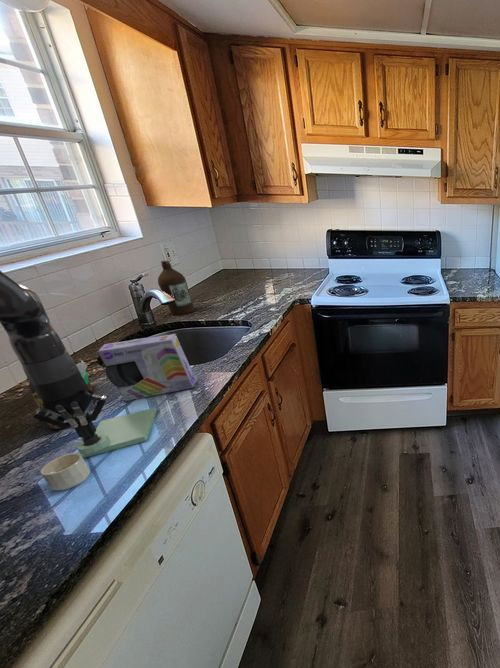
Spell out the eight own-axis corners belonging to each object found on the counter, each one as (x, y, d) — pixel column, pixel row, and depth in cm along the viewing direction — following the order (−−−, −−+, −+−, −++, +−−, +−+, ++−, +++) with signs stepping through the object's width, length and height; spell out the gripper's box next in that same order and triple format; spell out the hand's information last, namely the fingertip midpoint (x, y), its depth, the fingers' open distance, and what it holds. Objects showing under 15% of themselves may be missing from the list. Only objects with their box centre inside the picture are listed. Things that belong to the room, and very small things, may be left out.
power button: (84, 448, 87) (80, 441, 86) (88, 441, 89) (84, 435, 88) (98, 444, 88) (94, 437, 87) (101, 438, 90) (98, 431, 89)
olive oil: (165, 313, 176) (145, 262, 165) (188, 306, 184) (171, 257, 173) (177, 317, 171) (157, 264, 160) (200, 309, 179) (183, 259, 169)
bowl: (46, 496, 77) (34, 479, 75) (59, 476, 82) (48, 459, 80) (86, 484, 79) (75, 467, 77) (95, 465, 85) (85, 449, 82)
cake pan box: (119, 402, 108) (92, 350, 100) (126, 393, 112) (101, 342, 104) (193, 389, 113) (173, 338, 106) (197, 381, 117) (178, 332, 110)
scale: (78, 462, 86) (73, 452, 85) (99, 425, 98) (94, 416, 97) (145, 443, 91) (140, 434, 90) (156, 411, 103) (152, 402, 102)
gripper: (98, 359, 86) (127, 419, 93) (21, 374, 80) (59, 436, 88) (87, 374, 80) (120, 436, 87) (3, 390, 74) (46, 455, 82)
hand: (89, 436), depth 87 cm, fingers closed
